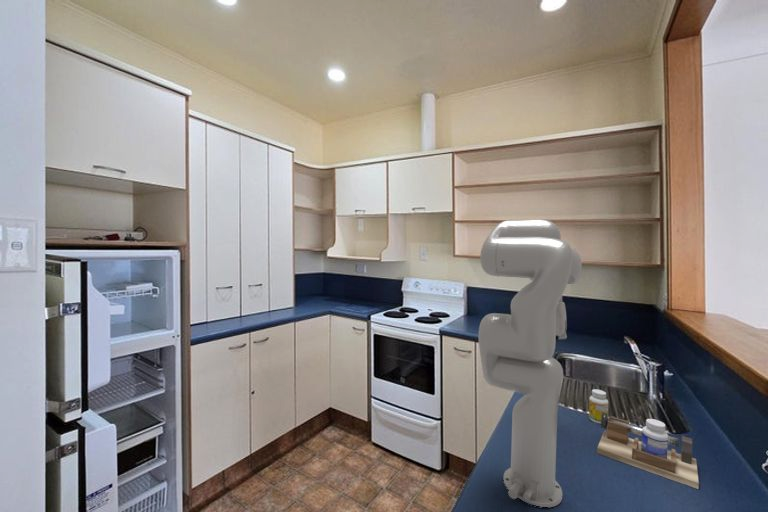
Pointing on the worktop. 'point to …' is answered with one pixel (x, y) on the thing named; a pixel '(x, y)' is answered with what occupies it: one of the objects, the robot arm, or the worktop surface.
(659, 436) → the pill bottle
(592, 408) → the supplement bottle
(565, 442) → the worktop surface
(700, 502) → the worktop surface
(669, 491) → the worktop surface
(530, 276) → the robot arm
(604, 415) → the steel shaft
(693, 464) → the shaft bracket
